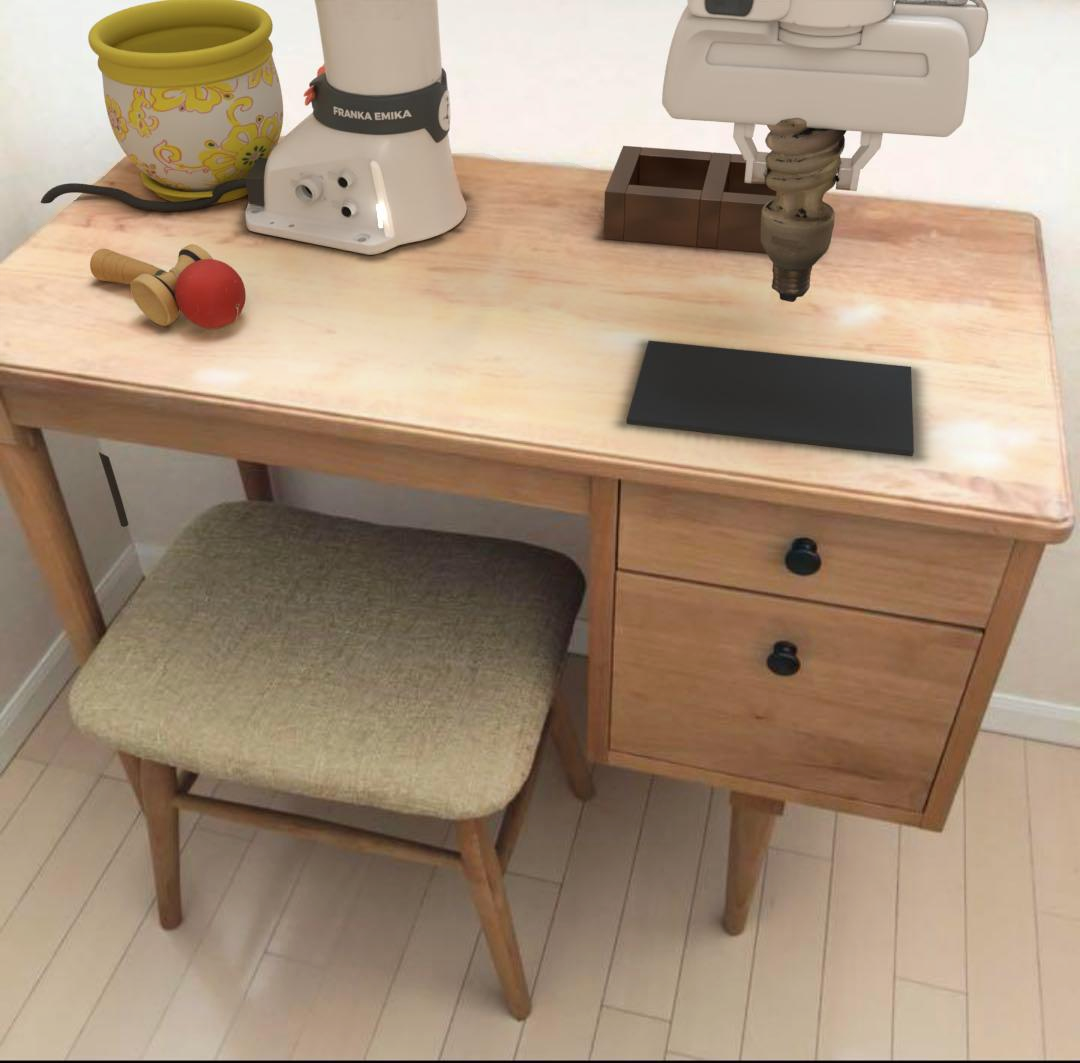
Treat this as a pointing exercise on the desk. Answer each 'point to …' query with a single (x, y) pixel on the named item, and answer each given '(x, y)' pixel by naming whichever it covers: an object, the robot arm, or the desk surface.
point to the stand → (684, 199)
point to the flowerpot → (190, 92)
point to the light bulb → (799, 201)
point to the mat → (775, 397)
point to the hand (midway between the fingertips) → (799, 183)
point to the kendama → (177, 286)
